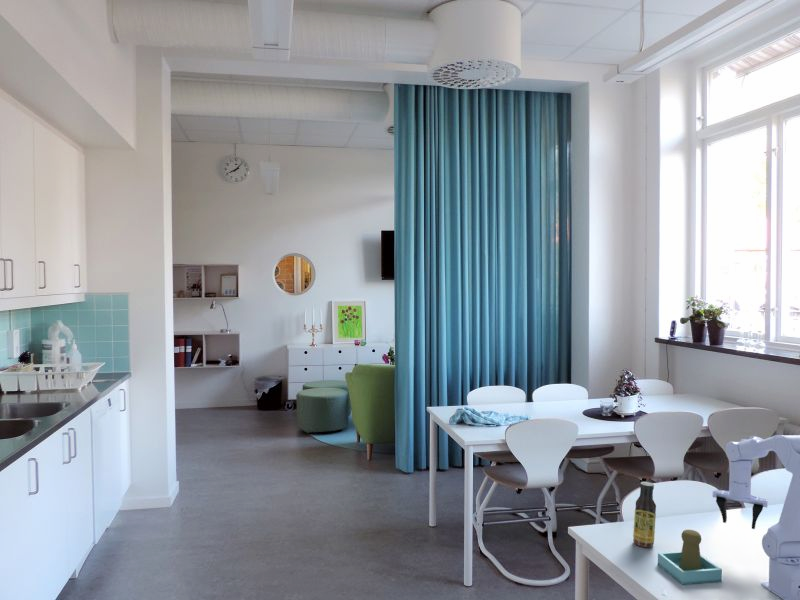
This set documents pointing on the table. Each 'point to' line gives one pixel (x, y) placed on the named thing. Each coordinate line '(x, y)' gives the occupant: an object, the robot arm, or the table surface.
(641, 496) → the sauce bottle
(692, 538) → the cork
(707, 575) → the teal bin
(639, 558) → the table surface
